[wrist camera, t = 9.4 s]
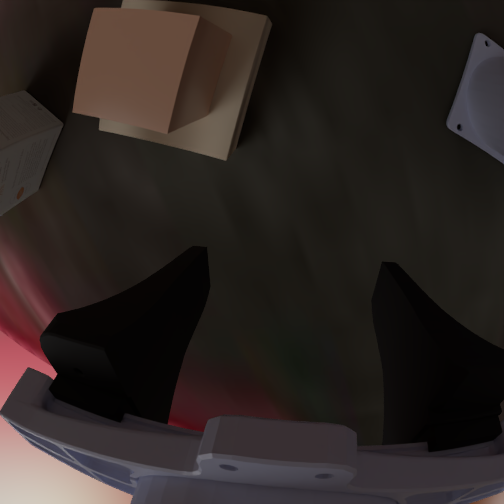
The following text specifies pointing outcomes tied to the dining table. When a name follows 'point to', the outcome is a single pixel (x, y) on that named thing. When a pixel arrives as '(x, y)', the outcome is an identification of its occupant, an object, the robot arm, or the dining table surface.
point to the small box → (24, 146)
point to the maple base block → (228, 86)
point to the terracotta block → (149, 68)
